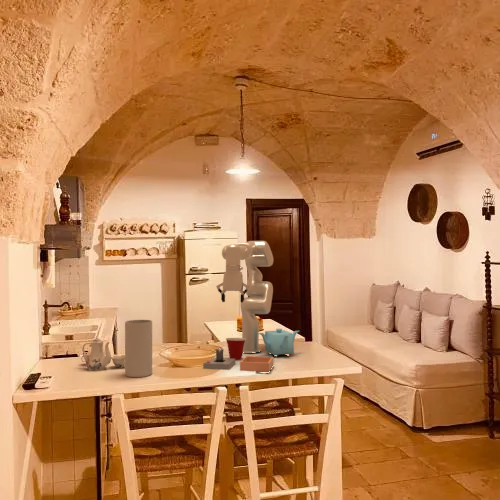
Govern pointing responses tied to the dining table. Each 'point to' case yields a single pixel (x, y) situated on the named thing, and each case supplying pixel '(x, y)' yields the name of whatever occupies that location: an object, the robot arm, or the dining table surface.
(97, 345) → the chinaware
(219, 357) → the battery cell
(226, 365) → the block
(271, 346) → the teakettle
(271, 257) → the robot arm
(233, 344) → the plastic cup
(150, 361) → the cylinder vase
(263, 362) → the bin
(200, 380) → the dining table surface
